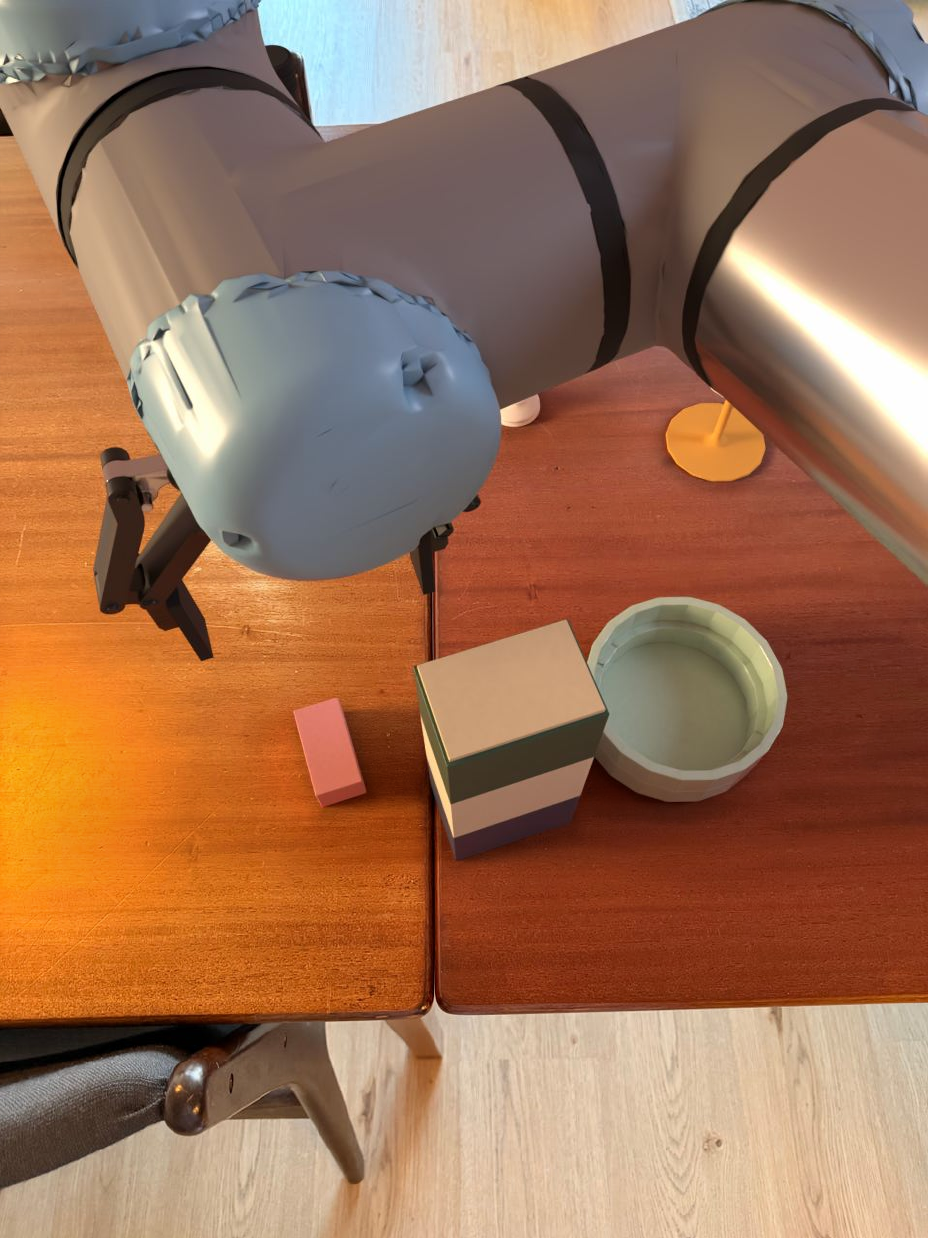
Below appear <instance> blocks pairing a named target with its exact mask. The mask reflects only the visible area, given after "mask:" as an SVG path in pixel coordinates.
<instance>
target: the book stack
mask: <svg viewBox="0 0 928 1238" xmlns="http://www.w3.org/2000/svg"><path fill="white" fill-rule="evenodd" d="M563 620H567V622H568V624H569V626H570V629H571V631H572V633H573V636H574V638H575V640H576V642H577V645H578V647H579V649H580V652H581V654H582V656H583V658H584V661H585V663H586V665H587V668H588V670H589V672H590V674H591V677H592V679H593V681H594V684H595V686H596V688H597V690H598V693H599V695H600V697H601V700H602V702H603V704H604V707H605V712H602V713H599V714H596V715H593V716H590V717H587V718H584V719H581V720H578V721H575V722H572V723H569V724H566V725H562V726H559V727H556V728H553V729H550V730H547V731H544V732H541V733H538V734H535V735H532V736H529V737H526V738H523V739H519V740H516V741H513V742H510V743H507V744H504V745H501V746H498V747H495V748H492V749H489V750H486V751H483V752H480V753H476V754H473V755H470V756H467V757H464V758H461V759H458V760H455V761H452V762H449V759H448V756H447V753H446V750H445V748H444V745H443V742H442V739H441V736H440V733H439V730H438V727H437V724H436V721H435V718H434V715H433V712H432V709H431V706H430V704H429V701H428V698H427V695H426V692H425V689H424V686H423V683H422V680H421V677H420V674H419V671H418V668H417V665H420V664H423V663H427V662H430V661H433V660H436V659H439V658H440V657H439V658H435V659H432V660H428V661H426V662H422V663H419V664H416V665H413V666H412V670H413V677H414V683H415V689H416V695H417V702H418V709H419V715H420V723H421V729H422V735H423V742H424V749H425V755H426V762H427V769H428V774H429V781H430V787H431V791H432V794H433V796H434V799H435V802H436V805H437V808H438V812H439V814H440V817H441V821H442V824H443V827H444V830H445V833H446V836H447V840H448V842H449V845H450V848H451V852H452V855H453V857H454V861H455V862H458V861H459V862H460V861H461V860H464V859H467V858H470V857H473V856H476V855H478V854H479V855H480V854H482V853H485V852H488V851H491V850H494V849H497V848H499V847H502V846H505V845H509V844H511V843H514V842H517V841H520V840H522V839H523V840H524V839H526V838H529V837H532V836H535V835H537V834H540V833H543V832H546V831H550V830H553V829H555V828H558V827H560V826H564V825H566V824H567V825H568V824H569V823H571V822H572V820H573V817H574V814H575V811H576V810H577V809H576V808H577V805H578V803H579V800H580V798H581V795H582V792H583V789H584V786H585V783H586V780H587V778H588V775H589V772H590V769H591V766H592V764H593V761H594V758H595V757H594V756H595V753H596V750H597V748H598V745H599V742H600V739H601V737H602V734H603V731H604V728H605V725H606V723H607V720H608V717H609V712H608V709H607V707H606V705H605V702H604V700H603V698H602V696H601V693H600V691H599V689H598V686H597V684H596V682H595V680H594V677H593V675H592V673H591V670H590V668H589V666H588V664H587V662H588V660H587V659H586V657H585V655H584V652H583V650H582V648H581V645H580V643H579V641H578V638H577V636H576V635H575V632H574V629H573V627H572V625H571V623H570V621H569V619H568V618H565V619H562V620H561V621H563ZM559 621H560V620H558V621H555V622H551V623H548V625H550V624H553V623H556V622H559ZM546 625H547V624H546ZM546 625H542V626H539V627H536V628H532V629H529V630H526V631H523V632H520V633H519V634H521V633H524V632H527V631H530V630H534V629H537V628H540V627H543V626H546ZM517 634H518V633H517ZM517 634H514V635H517ZM514 635H511V636H514ZM511 636H506V638H508V637H511ZM504 638H505V637H503V638H500V639H497V640H494V641H493V642H495V641H498V640H501V639H504ZM491 642H492V641H490V642H487V643H484V644H481V645H480V646H482V645H485V644H488V643H491ZM478 646H479V645H478ZM478 646H475V647H478ZM475 647H472V648H475ZM472 648H467V650H469V649H472ZM465 650H466V649H465ZM465 650H461V651H458V652H455V653H454V654H456V653H459V652H462V651H465ZM452 654H453V653H452ZM452 654H448V655H445V656H442V657H441V658H443V657H446V656H449V655H452Z"/></svg>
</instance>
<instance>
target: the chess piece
mask: <svg viewBox="0 0 928 1238" xmlns="http://www.w3.org/2000/svg"><path fill="white" fill-rule="evenodd" d="M540 402H541V400H540V396H539V394H537V395H534V396H532V397H530V398H527V399H525V400H522V401H520V402H518V403H515V404H513V405H510V406H508V407H506V408H503V409H501V410H500V412H501V424H502V426H505V427H511V428H519V427H523V426H526V425H529V424H531V423H532V422H533V421H534V420H536V419H537V418H538V416H539V414H540V411H541V403H540Z"/></svg>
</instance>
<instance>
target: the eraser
mask: <svg viewBox="0 0 928 1238" xmlns="http://www.w3.org/2000/svg"><path fill="white" fill-rule="evenodd" d="M293 715H294V720H295V723H296V727H297V730H298V734H299V739H300V742H301V746H302V748H303V754H304V758H305V761H306V765H307V768H308V772H309V776H310V780H311V784H312V787H313V791H314V795H315V797H316V799H317V800H318V801H317V802H318V803H319V804H320V806H321V807H322V808H325V807H328V806H331V805H334V804H338V803H340V802H343V801H346V800H349V799H352V798H356V797H358V796H361V795H365V794H367V788H366V785H365V781H364V778H363V775H362V771H361V767H360V765H359V762H358V758H357V754H356V751H355V747H354V745H353V740H352V737H351V734H350V730H349V727H348V724H347V719H346V717H345V713H344V710H343V707H342V703H341V702H340V698H339V697H332V698H330V699H327V700H324V701H320V702H318V703H314V704H311V705H308V706H304V707H301V708H298V709H294V710H293Z"/></svg>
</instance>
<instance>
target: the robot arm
mask: <svg viewBox="0 0 928 1238" xmlns="http://www.w3.org/2000/svg"><path fill="white" fill-rule="evenodd" d="M260 3H262V0H0V109H1V112H2V114H3V116H4V118H5V120H6V122H7V124H8V127H9V129H10V131H11V133H12V135H13V137H14V139H15V141H16V143H17V145H18V147H19V150H20V151H21V154H22V156H23V158H24V160H25V162H26V164H27V166H28V169H29V171H30V173H31V176H32V177H33V180H34V182H35V184H36V186H37V189H38V191H39V194H40V195H41V197H42V200H43V202H44V204H45V207H46V209H47V211H48V213H49V215H50V217H51V220H52V222H53V224H54V227H55V229H56V231H57V234H58V237H60V240H61V243H62V244H63V247H64V248H65V250H66V252H67V254H68V255H69V257H70V259H71V261H72V262H73V265H75V267H76V269H77V270H78V273H79V275H80V277H81V279H82V282H83V284H84V286H85V289H86V291H87V293H88V296H89V298H90V300H91V302H92V305H93V307H94V309H95V311H96V313H97V314H96V315H97V316H98V319H99V321H100V323H101V326H102V327H103V328H102V329H103V330H104V333H105V335H106V338H107V339H108V342H109V345H110V347H111V348H112V351H113V353H114V357H115V358H116V361H117V362H118V365H119V368H120V369H121V372H122V375H123V376H124V379H125V381H126V384H127V388H128V392H129V396H130V398H131V401H132V404H133V407H134V409H135V412H136V414H137V416H138V417H139V419H140V421H141V423H142V424H143V426H144V428H145V430H146V432H147V433H148V435H149V437H150V439H151V441H152V443H153V445H154V446H155V448H156V449H157V451H158V453H160V454H155V455H149V456H144V457H137V458H134V459H131V457H130V453H129V452H128V451H127V450H126V449H124V448H123V447H119V446H114V447H113V446H111V447H108V448H105V449H104V450H102V451H101V452H100V455H99V458H100V464H101V469H102V475H103V480H104V485H105V492H106V499H105V500H106V501H105V506H104V509H103V515H102V520H101V526H100V531H99V537H98V541H97V547H96V553H95V558H94V563H93V568H92V570H93V577H94V584H95V590H96V595H97V596H96V597H97V602H98V605H99V611H100V613H102V614H104V615H109V616H110V615H117V614H119V613H121V612H123V611H124V610H125V608H126V606H128V605H137V606H139V608H141V609H142V610H144V611H146V612H147V613H148V615H149V616H150V618H151V619H152V620H153V622H154V623H155V625H156V627H157V628H158V629H160V630H161V631H164V632H167V631H170V630H174V629H177V628H179V630H180V631H181V633H182V635H183V636H184V637H185V639H186V641H187V642H188V644H189V645H190V647H191V648H192V650H193V651H194V654H196V656H197V658H198V659H199V661H200V662H203V661H207V660H211V659H214V653H213V648H212V644H211V640H210V635H209V631H208V626H207V622H206V618H205V616H204V615H203V612H202V611H201V609H200V608H199V606H198V604H197V602H196V600H194V597H193V596H192V594H191V592H190V590H189V588H188V587H187V586H186V584H185V582H184V581H183V580H184V577H186V575H187V573H188V572H189V571H190V569H191V568H192V567H193V566H194V564H195V563H196V561H197V560H198V559H199V557H200V556H201V554H202V553H204V551H205V549H206V548H207V547H208V545H209V544H210V543H211V542H212V543H213V544H214V545H215V546H216V547H218V549H219V550H220V551H221V552H222V553H224V554H225V556H227V557H229V558H230V560H232V561H234V562H236V563H237V564H240V565H242V566H243V567H244V568H247V569H248V570H250V571H253V572H255V573H257V574H260V575H264V576H267V577H270V578H277V579H281V580H287V581H296V582H318V581H319V582H320V581H330V580H337V579H344V578H348V577H352V576H356V575H359V574H363V573H367V572H369V571H372V570H375V569H377V568H380V567H383V566H385V565H389V564H390V563H393V562H394V561H397V560H399V559H400V558H402V557H405V556H406V555H408V554H409V557H410V562H411V564H412V567H413V571H414V572H415V576H416V578H417V581H418V584H419V588H420V590H421V592H422V595H423V596H425V595H426V596H427V595H428V594H432V593H435V592H436V584H435V574H434V573H435V572H434V570H435V569H434V559H433V553H436V552H439V551H443V550H446V549H447V546H448V545H449V537H450V536H451V535H452V534H453V533H454V530H455V529H454V526H453V523H452V522H453V521H454V520H456V519H457V517H458V516H459V515H460V514H462V513H470V512H472V511H474V510H476V509H478V508H479V507H480V506H481V504H482V500H481V498H480V495H479V492H480V491H481V489H482V488H483V487H484V485H485V483H486V481H487V480H488V478H489V476H490V474H491V472H492V470H493V468H494V465H495V463H496V460H497V457H498V454H499V451H500V447H501V441H502V434H503V433H502V431H503V429H502V427H503V425H502V424H501V412H500V410H501V409H503V408H506V407H508V406H510V405H513V404H515V403H518V402H520V401H522V400H525V399H527V398H530V397H532V396H534V395H537V394H538V395H539V394H541V393H544V392H546V391H549V390H551V389H553V388H556V387H558V386H561V385H563V384H565V383H568V382H570V381H573V380H575V379H577V378H580V377H582V376H584V375H586V374H589V373H591V372H594V371H596V370H599V369H600V368H602V367H604V366H606V365H608V364H611V363H613V362H616V361H619V360H622V359H624V358H627V357H630V356H632V355H635V354H638V353H640V352H643V351H647V350H648V349H651V348H654V347H663V348H666V349H667V350H669V351H670V352H671V353H672V354H674V355H675V356H676V357H677V358H678V359H679V360H680V361H681V362H682V363H683V364H684V365H685V366H686V367H688V368H689V369H690V370H692V371H693V372H694V373H695V374H696V375H697V376H698V377H699V378H700V379H701V381H703V382H704V383H705V384H706V385H707V386H708V387H709V388H710V389H711V388H712V389H713V390H715V391H716V392H717V393H719V394H720V395H721V396H720V395H719V394H718V395H719V396H720V397H722V396H723V397H724V398H723V397H722V398H723V399H724V400H725V401H726V400H727V401H728V402H729V403H730V404H731V405H732V406H733V407H734V408H735V409H737V410H738V411H739V412H740V413H741V414H742V415H743V416H744V417H745V418H746V419H747V420H748V421H749V422H750V423H752V424H753V425H754V426H755V427H756V428H757V429H758V430H759V431H760V432H761V433H762V434H763V437H764V436H765V437H766V438H767V440H768V441H769V442H771V443H772V444H773V445H774V446H775V447H776V448H777V449H778V450H779V451H780V452H781V453H782V454H784V456H786V457H787V459H789V460H790V461H791V462H792V463H793V464H794V465H795V466H797V468H799V469H800V470H801V472H803V473H804V474H805V475H806V476H807V477H808V478H809V479H810V480H812V481H813V482H814V484H816V485H817V486H818V487H819V488H820V489H821V490H822V491H823V492H825V493H826V494H827V496H829V498H831V499H832V500H833V501H834V502H835V503H836V504H837V505H839V506H840V507H841V508H842V510H844V511H845V512H846V513H847V514H848V515H849V516H850V517H851V518H853V520H855V522H857V523H858V524H859V525H860V526H861V527H862V528H863V529H864V530H865V531H866V532H868V534H870V535H871V536H872V537H873V538H874V539H875V540H876V541H877V542H878V543H879V544H881V546H882V547H884V549H886V550H887V551H888V552H889V553H890V554H891V555H892V556H893V557H894V558H896V560H898V562H900V563H901V564H902V565H903V566H904V567H905V568H906V569H907V570H908V571H910V572H911V573H912V574H913V575H914V576H915V577H916V578H917V579H918V581H920V582H921V583H922V584H923V585H925V587H927V588H928V43H926V42H925V40H924V38H923V36H922V34H921V32H920V31H919V29H918V26H917V25H916V24H915V22H914V15H915V14H914V11H913V10H912V9H911V7H910V6H909V5H908V4H907V3H905V2H904V1H903V0H724V1H722V2H720V3H718V4H716V5H714V6H713V7H710V8H709V9H707V10H704V11H703V12H701V13H699V14H697V15H696V16H695V17H692V18H689V19H686V20H683V21H681V22H678V23H674V24H672V25H669V26H666V27H663V28H661V29H657V30H655V31H652V32H649V33H647V34H644V35H640V36H638V37H635V38H632V39H629V40H626V41H624V42H621V43H618V44H615V45H611V46H610V47H607V48H604V49H601V50H598V51H595V52H592V53H589V54H587V55H584V56H581V57H578V58H575V59H572V60H569V61H566V62H564V63H561V64H558V65H555V66H552V67H549V68H546V69H543V70H540V71H537V72H534V73H531V74H528V75H525V76H522V77H519V78H516V79H513V80H509V81H507V82H503V83H499V84H497V85H494V86H492V87H488V88H485V89H482V90H480V91H476V92H473V93H470V94H466V95H464V96H461V97H457V98H454V99H452V100H449V101H447V102H446V101H445V102H442V103H439V104H437V105H433V106H430V107H428V108H424V109H421V110H418V111H414V112H412V113H408V114H405V115H402V116H399V117H397V118H393V119H391V120H386V121H384V122H381V123H378V124H374V125H371V126H369V127H366V128H363V129H361V130H358V131H355V132H352V133H350V134H347V135H343V136H341V137H337V138H334V139H331V140H328V141H325V140H324V139H323V137H322V135H321V134H320V132H319V131H318V130H317V128H316V127H315V125H314V124H313V123H312V122H311V120H310V119H309V118H308V116H307V115H306V114H305V112H303V110H302V108H301V107H300V105H299V106H298V104H297V103H296V102H295V100H294V99H293V97H292V96H291V95H290V93H289V92H288V90H287V89H286V88H285V86H284V85H283V83H282V82H281V80H280V79H279V77H278V76H277V74H276V72H275V71H274V69H273V67H272V65H271V62H270V60H269V57H268V54H267V51H266V48H265V46H266V45H265V44H266V43H265V41H264V38H263V34H262V28H261V21H260V15H259V10H258V8H259V7H260ZM712 389H711V390H712ZM713 390H712V391H713ZM716 392H715V393H716ZM717 393H716V394H717ZM167 485H171V486H172V487H173V488H175V489H176V490H177V491H179V492H180V494H179V496H178V497H177V498H176V500H175V501H174V503H173V504H172V506H171V508H170V509H169V510H168V512H167V513H166V515H165V516H164V518H163V519H162V521H161V522H160V523H159V525H158V527H157V528H156V529H155V532H153V534H152V535H151V537H150V539H148V541H147V543H146V545H145V546H144V547H143V549H142V550H141V552H140V549H141V545H142V541H143V538H144V532H145V526H146V522H145V520H146V519H145V514H144V513H150V512H151V511H153V510H154V503H153V502H154V501H155V500H157V498H158V496H159V492H160V489H162V488H163V487H164V486H167ZM139 552H140V553H139Z"/></svg>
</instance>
